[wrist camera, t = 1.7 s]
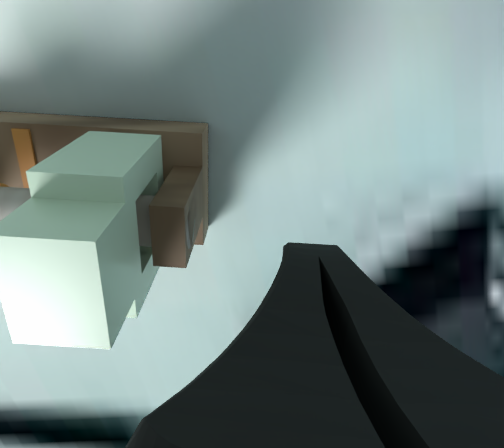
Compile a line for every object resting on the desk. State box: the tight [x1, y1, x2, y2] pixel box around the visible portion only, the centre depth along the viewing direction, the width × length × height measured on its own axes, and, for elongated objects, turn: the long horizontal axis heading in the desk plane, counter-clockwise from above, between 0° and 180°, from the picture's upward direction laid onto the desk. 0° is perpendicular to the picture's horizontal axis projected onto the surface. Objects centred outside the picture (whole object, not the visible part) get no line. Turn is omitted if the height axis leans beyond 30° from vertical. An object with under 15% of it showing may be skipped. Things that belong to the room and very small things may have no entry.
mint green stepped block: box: [0, 131, 164, 350], centre depth 12 cm, size 2×4×6 cm, turn 178°
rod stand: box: [0, 111, 208, 268], centre depth 14 cm, size 9×4×5 cm, turn 88°
